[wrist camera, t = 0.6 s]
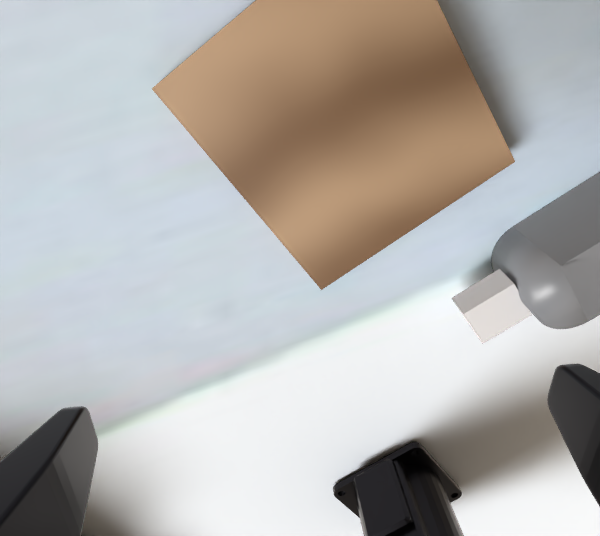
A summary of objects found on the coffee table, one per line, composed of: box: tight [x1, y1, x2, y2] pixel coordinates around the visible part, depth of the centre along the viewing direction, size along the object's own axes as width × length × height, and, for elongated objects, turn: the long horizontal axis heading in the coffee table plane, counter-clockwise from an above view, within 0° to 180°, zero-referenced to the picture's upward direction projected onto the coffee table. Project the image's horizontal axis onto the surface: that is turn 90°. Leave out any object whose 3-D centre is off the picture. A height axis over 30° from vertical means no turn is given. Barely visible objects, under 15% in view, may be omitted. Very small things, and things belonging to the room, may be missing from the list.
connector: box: [452, 172, 600, 344], centre depth 21 cm, size 4×12×4 cm, turn 126°
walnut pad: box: [152, 0, 515, 290], centre depth 19 cm, size 11×10×1 cm
